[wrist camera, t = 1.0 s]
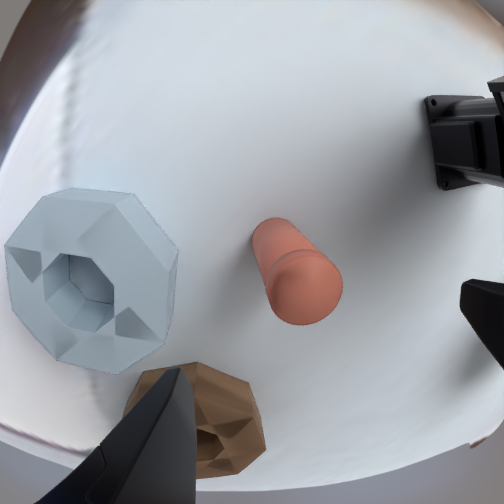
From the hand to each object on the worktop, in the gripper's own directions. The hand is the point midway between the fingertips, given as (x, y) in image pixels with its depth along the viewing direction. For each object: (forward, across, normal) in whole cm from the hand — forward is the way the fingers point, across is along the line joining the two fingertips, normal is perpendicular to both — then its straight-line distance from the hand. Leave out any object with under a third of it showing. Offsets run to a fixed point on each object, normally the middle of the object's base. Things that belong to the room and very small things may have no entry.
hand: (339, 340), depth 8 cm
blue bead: (+10, +11, -1) cm, 15 cm away
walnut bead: (+10, +9, +12) cm, 18 cm away
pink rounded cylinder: (+10, 0, 0) cm, 10 cm away
